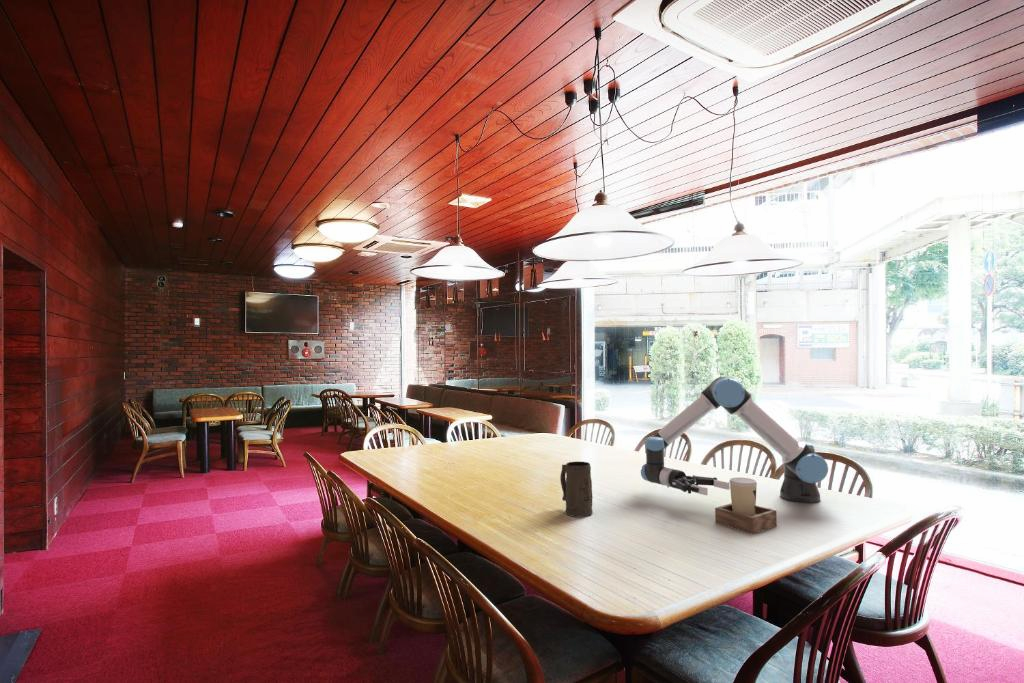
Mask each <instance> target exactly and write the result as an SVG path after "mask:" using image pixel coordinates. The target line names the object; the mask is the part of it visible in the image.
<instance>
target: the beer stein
mask: <svg viewBox="0 0 1024 683" xmlns="http://www.w3.org/2000/svg"><path fill="white" fill-rule="evenodd" d="M591 469H592V468H591V464H590V462H587V461H569V462H567V463H566V464H561V473H560V477H559V480H560V485H561V490H562V494H563V496H562V498H561V499H562V502H565V511H564V512H566V513H567V514H569V515H573V516H587V517H590V516H591V514H593V511H594V510H593V481H592V480H593V479H592V473H591ZM566 513H565V514H566ZM567 514H566V515H567ZM569 515H568V516H569ZM589 515H590V516H589ZM573 516H572V517H573Z"/></svg>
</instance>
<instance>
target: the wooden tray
mask: <svg viewBox="0 0 1024 683" xmlns="http://www.w3.org/2000/svg"><path fill="white" fill-rule="evenodd" d="M714 510H715V511H714V521H715V524H718V523H719V524H718V525H721V524H722V525H721V526H724V525H725V527H728V526H729V528H731V527H732V529H734V528H735V529H736V530H738V529H739V530H738V531H741V530H742V531H741V532H744V531H745V532H744V533H748V532H749V534H751V533H752V534H751V535H754V534H757V533H760V532H763V531H766V530H768V528H769V529H771V527H772V528H774V526H775V527H777V524H778V523H777V522H778V519H777V510H776V509H771V508H768V507H764V506H759V505H756V508H755V515H752V516H748V515H744V514H740V513H736V512H733V511H732V502H731V503H729V504H728V503H727V504H725V505H721V506H717V507H714ZM735 529H734V530H735ZM765 529H766V530H765ZM762 530H763V531H762ZM759 531H760V532H759ZM756 532H757V533H756ZM753 533H754V534H753Z"/></svg>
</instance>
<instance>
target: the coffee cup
mask: <svg viewBox="0 0 1024 683" xmlns="http://www.w3.org/2000/svg"><path fill="white" fill-rule="evenodd" d="M757 485H758V483H757V480H756V479H753V478H748V477H732V478H730V479H729V487H730V501H731V503H732V511H733V512H736V513H740V514H744V515H748V516H752V515H755V508H756V506H757V504H756V503H757Z"/></svg>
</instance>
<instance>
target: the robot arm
mask: <svg viewBox="0 0 1024 683" xmlns="http://www.w3.org/2000/svg"><path fill="white" fill-rule="evenodd" d="M752 396H753V395H752V394H751V393H750V392H749V391H748V390H747V389H746V388H745V387H743V385H742V383H740V381H739V380H736V379H735V378H733V377H728V376H719V377H717V378H715V379H713V381H711V383H710V384H709V385H708V386H707V387H706V388H704V390H703V391H701V392H700V396H699V397H698V398H696V399H695V400H694V401H693V402H692V403H691V404H689V405H688V406H687V407H686V408H685V409H683V410H682V411H681V412H680V413H678V414H677V415H676V416H675V417H673V419H671V421H669V422H668V423H667V424H666V425H664V426H663V427H662V428H660V430H658V431H657V432H656V433H655V434H653V435H651V436H649V437H647V438H646V439H645V455H646V456H645V457H646V458H645V461H646V462H645V463H644V464H643V465H642V466H641V469H640V477H641V478H642V479H643V480H644V481H647V482H650V483H652V484H657V485H662V486H666V487H667V488H673V489H675V490H676V489H677V490H680V491H681V492H684V493H687V494H692V492H693V493H695V494H699V495H702V496H703V495H704V496H708V487H705V486H713V487H714V488H718V489H719V488H720V489H722V490H727V491H729V490H730V482H728V481H723V480H720V479H718V477H715V476H714V477H708V476H707V477H706V476H699V475H695V474H694V475H692V476H691V475H686V473H685V472H684V471H683V470H678V469H674V468H671V467H665V449H666V448H668V446H670V445H671V444H673V442H674V441H676V440H677V439H678V438H680V437H681V436H682V435H683V434H685V433H686V432H687V431H688V430H689V429H690V428H692V427H693V426H695V424H696V423H698V422H699V421H701V420H702V419H703V418H704V417H705V416H707V415H708V414H709V413H710V412H711V411H713V410H717V409H718V408H720V407H722V408H723V409H724V410H725V411H726V412H728V414H730V415H733V416H734V415H735V416H737V417H739V419H741V420H742V421H743V423H744V424H746V425H747V426H748V427H749V428H751V430H752V431H754V432H755V433H756V434H757V435H758V436H759V437H760V438H761V439H762V440H763V441H765V442H766V443H767V444H768V445H769V446H770V447H771V448H772V449H773V450H774V451H775V452H777V453H778V455H780V456H781V462H782V463H783V476H784V477H783V481H782V484H781V487H780V490H779V496H780V498H782V499H784V500H787V501H790V500H791V502H797V503H819V502H821V493H820V490H819V488H818V486H817V484H818V483H821V482H822V481H823V480H825V478H826V477H827V476H828V472H829V466H828V462H827V461H826V460H825V459H824V457H822V456H821V455H819V454H818V453H816V451H815V450H816V449H815V447H814V445H812V444H808V443H805V442H802V441H800V442H799V441H797V439H795V437H793V436H792V435H791V434H789V432H788V431H786V430H785V429H784V428H783V427H782V426H781V425H780V424H779V423H778V422H776V421H775V420H774V419H773V418H772V417H771V416H770V415H769V414H768V413H767V412H766V411H764V410H763V409H762V408H761V407H760V406H759V405H758V404H756V402H754V401H753V397H752ZM730 491H731V490H730Z"/></svg>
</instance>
